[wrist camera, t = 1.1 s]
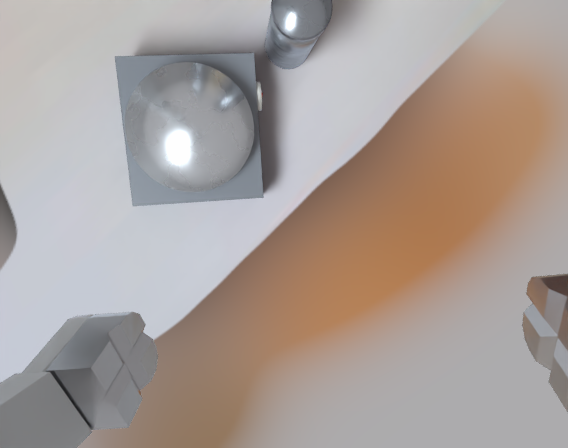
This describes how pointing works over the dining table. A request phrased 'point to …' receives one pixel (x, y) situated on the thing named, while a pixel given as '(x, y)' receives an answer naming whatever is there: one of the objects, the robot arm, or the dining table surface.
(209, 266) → the dining table surface
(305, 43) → the cylinder
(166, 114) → the pan
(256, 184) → the scale
